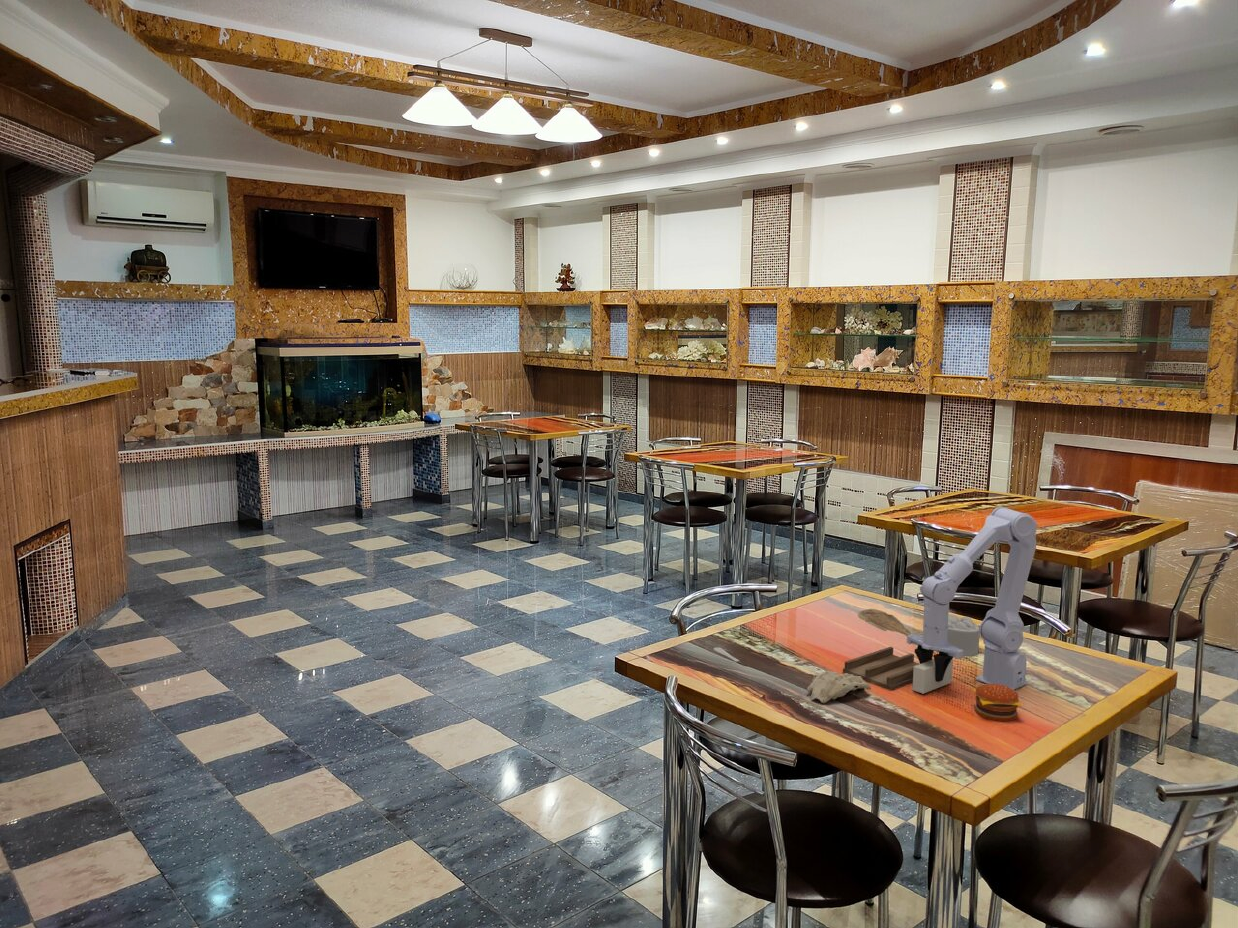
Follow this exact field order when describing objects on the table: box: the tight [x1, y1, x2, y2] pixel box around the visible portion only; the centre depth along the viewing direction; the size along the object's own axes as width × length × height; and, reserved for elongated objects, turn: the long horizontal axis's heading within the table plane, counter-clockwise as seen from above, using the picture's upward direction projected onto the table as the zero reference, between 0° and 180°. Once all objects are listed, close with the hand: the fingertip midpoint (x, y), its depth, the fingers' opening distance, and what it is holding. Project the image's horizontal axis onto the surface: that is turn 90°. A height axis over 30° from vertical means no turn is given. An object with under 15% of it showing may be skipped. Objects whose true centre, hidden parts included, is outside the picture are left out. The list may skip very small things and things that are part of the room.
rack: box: [842, 646, 920, 691], centre depth 231 cm, size 15×19×3 cm
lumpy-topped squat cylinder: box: [947, 614, 981, 658], centre depth 249 cm, size 10×13×9 cm
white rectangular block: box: [912, 658, 954, 694], centre depth 221 cm, size 3×12×6 cm, turn 127°
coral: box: [806, 670, 872, 704], centre depth 218 cm, size 15×12×5 cm
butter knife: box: [712, 647, 740, 662], centre depth 239 cm, size 1×24×3 cm
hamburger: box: [972, 683, 1023, 722], centre depth 206 cm, size 9×10×7 cm
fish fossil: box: [857, 608, 913, 637], centre depth 270 cm, size 26×10×1 cm, turn 18°
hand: (932, 678), depth 221 cm, fingers closed on white rectangular block, 3 cm apart
